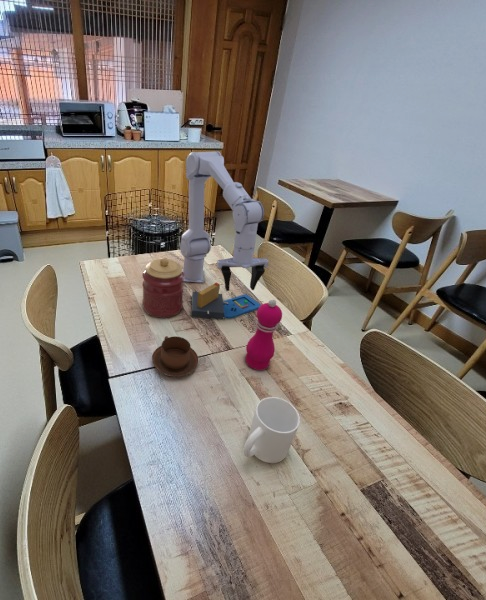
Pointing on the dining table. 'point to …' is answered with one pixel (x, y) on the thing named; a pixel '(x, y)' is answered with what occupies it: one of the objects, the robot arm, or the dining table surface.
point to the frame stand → (208, 308)
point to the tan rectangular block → (208, 295)
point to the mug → (272, 430)
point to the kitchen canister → (163, 288)
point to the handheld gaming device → (239, 306)
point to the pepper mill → (263, 336)
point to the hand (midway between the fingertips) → (239, 289)
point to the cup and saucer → (175, 357)
